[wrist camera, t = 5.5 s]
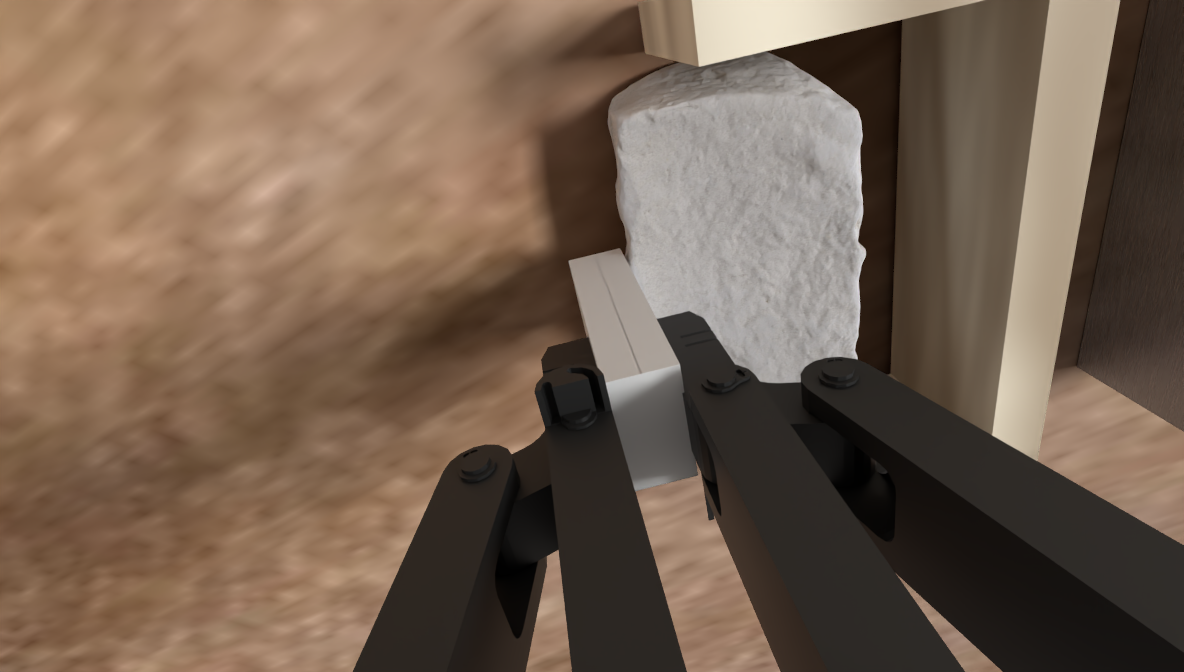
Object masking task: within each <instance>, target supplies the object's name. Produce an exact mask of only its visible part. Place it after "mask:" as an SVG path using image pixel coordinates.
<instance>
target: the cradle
mask: <svg viewBox="0 0 1184 672" xmlns="http://www.w3.org/2000/svg"><path fill="white" fill-rule="evenodd" d="M1119 5H1120V0H646V1H642V2H638V8H639V15H640V21H641V28H642V35H643V42H644V49H645V54H649V55H653V56H657V57H661V58H665V59H669V60H673V61H677V62H681V63H686V64H690V65H694V66H698V67H700V66H705V65H709V64H713V63H717V62H722V61H726V60H730V59H735V58H739V57H743V56H748V55H752V54H756V53H760V52H765V51H769V50H773V49H778V48H782V47H786V46H791V45H795V44H799V43H803V42H808V41H812V40H816V39H821V38H825V37H829V36H834V35H838V34H842V33H846V32H851V31H855V30H859V29H864V28H868V27H872V26H876V25H881V24H885V23H889V22H894V21H898V20H902V47H901V77H900V107H899V137H898V167H897V198H896V228H895V258H894V288H893V318H892V349H891V374H887V375H888V376H890V377H892V378H893V379H895V380H897V381H899V382H900V383H902V384H904V385H906V386H907V387H909V388H911V389H912V390H914V391H916V392H918V393H919V394H921V395H923V396H925V397H926V398H928V399H930V400H932V401H933V402H935V403H937V404H939V405H940V406H942V407H944V408H946V409H947V410H949V411H951V412H952V413H954V414H956V415H958V416H959V417H961V418H963V419H965V420H966V421H968V422H970V423H972V424H973V425H975V426H977V427H979V428H980V429H982V430H984V431H986V432H987V433H989V434H991V435H992V436H994V437H996V438H998V439H999V440H1001V441H1003V442H1005V443H1006V444H1008V445H1010V446H1012V447H1013V448H1015V449H1017V450H1019V451H1020V452H1022V453H1024V454H1026V455H1027V456H1029V457H1031V458H1032V459H1034V460H1036V461H1037V460H1038V455H1039V449H1040V444H1041V438H1042V432H1043V427H1044V421H1045V416H1046V410H1047V405H1048V399H1049V394H1050V388H1051V383H1052V377H1053V371H1054V366H1055V360H1056V355H1057V349H1058V344H1059V338H1060V333H1061V327H1062V321H1063V316H1064V310H1065V305H1066V299H1067V294H1068V288H1069V283H1070V277H1071V272H1072V266H1073V260H1074V255H1075V249H1076V244H1077V238H1078V233H1079V227H1080V222H1081V216H1082V210H1083V205H1084V199H1085V194H1086V188H1087V183H1088V177H1089V172H1090V166H1091V160H1092V155H1093V149H1094V144H1095V138H1096V133H1097V127H1098V122H1099V116H1100V111H1101V105H1102V99H1103V94H1104V88H1105V83H1106V77H1107V72H1108V66H1109V61H1110V55H1111V49H1112V44H1113V38H1114V33H1115V27H1116V22H1117V16H1118V11H1119Z"/></svg>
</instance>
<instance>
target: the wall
mask: <svg viewBox="0 0 1184 672" xmlns="http://www.w3.org/2000/svg"><path fill="white" fill-rule="evenodd" d="M1077 367H1078V368H1080V369H1081V370H1083V371H1084V372H1086V373H1088V374H1089V375H1091V376H1093V377H1094V378H1096V379H1098V380H1099V381H1101V382H1103V383H1104V384H1106V385H1108V386H1109V387H1111V388H1113V389H1114V390H1116V391H1118V392H1119V393H1121V394H1122V395H1124V396H1126V397H1127V398H1129V399H1131V400H1132V401H1134V402H1136V403H1137V404H1139V405H1141V406H1142V407H1144V408H1146V409H1147V410H1149V411H1151V412H1152V413H1154V414H1156V415H1157V416H1159V417H1160V418H1162V419H1164V420H1165V421H1167V422H1169V423H1170V424H1172V425H1174V426H1175V427H1177V428H1179V429H1180V430H1182V431H1184V0H1150V4H1149V9H1148V14H1147V19H1146V24H1145V29H1144V34H1143V39H1142V44H1141V49H1140V54H1139V59H1138V64H1137V69H1136V74H1135V79H1134V84H1133V89H1132V94H1131V99H1130V104H1129V109H1128V114H1127V119H1126V124H1125V129H1124V134H1123V139H1122V144H1121V149H1120V154H1119V159H1118V164H1117V169H1116V174H1115V179H1114V184H1113V189H1112V194H1111V199H1110V204H1109V209H1108V214H1107V219H1106V224H1105V229H1104V234H1103V239H1102V244H1101V249H1100V254H1099V259H1098V264H1097V269H1096V273H1095V278H1094V283H1093V288H1092V293H1091V298H1090V303H1089V308H1088V313H1087V318H1086V323H1085V328H1084V333H1083V338H1082V343H1081V348H1080V353H1079V358H1078V363H1077Z"/></svg>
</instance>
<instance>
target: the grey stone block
mask: <svg viewBox="0 0 1184 672" xmlns="http://www.w3.org/2000/svg"><path fill="white" fill-rule="evenodd" d="M608 115H609V116H608V127H609V131H610V135H611V138H612V142H613V146H614V151H615V157H616V162H617V174H618V175H617V176H618V177H617V181H616V185H615V188H616V202H617V208H618V211H619V214H620V218H621V220H622V222H623V224H624V227H625V236H626V239H627V246H626V253H625V256H624V257H625V259H626V261H627V263H628V265H629V266H630V268H631V270H632V272H633V274H634V276H635V278H636V280H637V282H638V284H639V286H640V288H641V290H642V292H643V294H644V296H645V297H646V299H647V301H648V303H649V305H650V307H651V309H652V311H653V313H654V315H655V317H656V319H659V318H663V317H667V316H671V315H675V314H679V313H683V312H687V311H690V312H693V313H695V314H697V315H699V316H701V317H703V318H704V319H705V321H706V322H707V324H708V325H709V326H710V328H711V331H713V332H714V334H715V335H716V337H717V339H718V340H719V341H720V343H721V344H722V346H723V347H724V349H725V350H726V352H727V353H728V355H729V356H730V358H731V359H732V361H733V362H734V364H735V365H739V366H742V367H745V368H748V369H749V370H750V371H751V372H753V373H754V374H755V375H756V377H757V378H758V379H759V381H761V382H767V383H793V382H801V377H800V374H801V372H802V371H803V369H804V368H805V367H806V366H807V365H809V364H810V363H812V362H814V361H817V360H820V359H824V358H829V357H846V358H853V359H858V357H857V354H856V352H855V348H856V342H857V339H858V336H859V335H858V328H859V322H860V295H859V293H860V292H859V276H860V272H861V266H862V263H863V261H864V259H865V257H866V250H865V248H864V247H863V246H862V245H861V244H860V243H858V237H859V229H860V226H861V222H862V217H863V198H862V191H861V185H862V175H861V164H860V146H861V143H862V137H863V134H862V124H861V119H860V116H859V112H858V110H857V109H856V108H854V107H853V106H852V105H851V104H850V103H849V102H847V101H846V100H845V99H843V98H842V97H840V96H839V95H838V94H837V93H835V92H834V91H833V90H831V89H830V88H829V87H828V86H826V85H825V84H823V83H822V82H820V81H819V80H817V79H815V78H814V77H813V76H811V75H810V74H808V73H806V72H804V71H803V70H801V69H799V68H798V67H796V66H795V65H794V64H792V63H791V62H789V61H787V60H785V59H782V58H779V57H777V56H775V55H773V54H771V53H768V52H760V53H756V54H752V55H748V56H743V57H739V58H735V59H730V60H726V61H722V62H717V63H713V64H709V65H705V66H700V67H698V66H694V65H690V64H686V63H681V62H679V63H676V64H673V65H671V66H667V67H665V68H662V69H660V70H658V71H655V72H654V73H651V74H649V75H647V76H646V77H644V78H642V79H641V80H639V81H637V82H636V83H634V84H631V85H630V86H629V87H627V89H625V90H623V91H622V92H620V93H618V94H617V95H616V96H615V97H614V98H613V99H612V101H611V104H610V107H609V110H608Z"/></svg>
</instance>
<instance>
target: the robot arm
mask: <svg viewBox="0 0 1184 672" xmlns="http://www.w3.org/2000/svg"><path fill="white" fill-rule="evenodd" d="M569 265H570V270H571V274H572V278H573V282H574V286H575V290H576V295H577V299H578V303H579V307H580V311H581V315H582V320H583V324H584V328H585V332H586V336H587V338H584V339H580V340H575V341H571V342H567V343H563V344H559V345H555V346H551V347H548V349H547V351H546V352H545V354H544V356H543V358H542V359H541V361H542V369H543V377H542V378H541V379H540V380H539V382H538V383H537V384H536V388H535V395H536V398H537V402H538V405H539V408H540V412H541V415H542V418H543V422H544V425H545V431H544V433H543V434H542V435H541V436H540V438H538V439H537V440H536V441H535V442H533V443H532V444H531V445H529V446H527V447H526V448H524V449H522V450H520V451H518V452H516V453H514V454H512V455H511V453H510V452H509V450H508V449H506V448H504V447H502V446H499V445H482V446H478V447H473V448H471V449H469V450H467V451H465V452H463V453H461V454H459V455H458V456H457V457H456V458H454V459H453V460H452V461H451V462H450V463H449V464H448V466H447V467H446V468H445V470H444V471H443V474H442V476H441V478H440V480H439V482H438V485H437V487H436V489H435V491H434V493H433V496H432V498H431V500H430V502H429V504H428V507H427V509H426V511H425V513H424V515H423V518H422V520H421V522H420V524H419V527H418V529H417V531H416V533H415V535H414V538H413V540H412V542H411V544H410V546H409V549H408V551H407V553H406V555H405V557H404V560H403V562H402V564H401V566H400V568H399V571H398V573H397V575H396V577H395V580H394V582H393V584H392V586H391V588H390V591H389V593H388V595H387V597H386V599H385V602H384V604H383V606H382V608H381V610H380V613H379V615H378V617H377V619H376V621H375V624H374V626H373V628H372V630H371V633H370V635H369V637H368V639H367V641H366V644H365V646H364V648H363V650H362V652H361V655H360V657H359V659H358V661H357V663H356V666H355V668H354V670H353V672H525V671H526V666H527V661H528V656H529V651H530V647H531V642H532V637H533V632H534V627H535V622H536V617H537V612H538V607H539V602H540V597H541V593H542V588H543V583H544V578H545V573H546V568H547V556H548V555H550V554H551V553H553V552H555V551H557V550H559V557H560V566H561V575H562V584H563V593H564V602H565V612H566V621H567V630H568V639H569V648H570V657H571V666H572V672H687V671H686V667H685V664H684V660H683V657H682V653H681V650H680V646H679V643H678V639H677V636H676V632H675V629H674V625H673V622H672V618H671V615H670V611H669V608H668V604H667V601H666V597H665V594H664V590H663V587H662V583H661V580H660V576H659V573H658V569H657V566H656V563H655V559H654V556H653V552H652V549H651V545H650V542H649V538H648V535H647V531H646V528H645V524H644V521H643V517H642V514H641V510H640V507H639V503H638V500H637V496H636V493H635V491H638V490H642V489H646V488H650V487H654V486H658V485H662V484H666V483H670V482H674V481H677V480H681V479H685V478H689V477H693V476H697V475H698V473H697V467H696V461H697V464H698V466H699V468H700V470H701V473H702V480H703V486H704V492H705V499H706V505H707V511H708V518H709V520H713V519H714V516H715V518H716V521H717V523H718V525H719V528H720V530H721V532H722V535H723V537H724V539H725V542H726V544H727V547H728V549H729V551H730V554H731V556H732V558H733V561H734V563H735V565H736V568H737V570H738V572H739V575H740V577H741V579H742V582H743V584H744V587H745V589H746V591H747V594H748V596H749V598H750V601H751V603H752V605H753V608H754V610H755V612H756V615H757V617H758V619H759V622H760V624H761V627H762V629H763V631H764V634H765V636H766V638H767V641H768V643H769V645H770V648H771V650H772V652H773V655H774V657H775V659H776V662H777V664H778V667H779V669H780V671H781V672H965V671H964V670H963V668H962V667H961V665H960V664H959V663H958V661H957V660H956V658H955V657H954V655H953V654H952V653H951V651H950V650H949V648H948V647H947V646H946V644H945V643H944V641H943V640H942V638H941V637H940V636H939V634H938V633H937V631H936V630H935V629H934V627H933V626H932V624H931V623H930V621H929V620H928V619H927V617H926V616H925V614H924V613H923V612H922V610H921V609H920V607H919V606H918V605H917V603H916V602H915V600H914V599H913V597H912V596H911V595H910V593H909V592H908V590H907V589H906V588H905V586H904V585H903V583H902V582H901V580H900V579H899V578H898V576H899V577H901V578H902V579H903V580H904V581H905V582H906V583H907V584H908V585H909V586H910V587H911V588H912V589H914V590H915V591H916V592H917V593H918V594H919V595H920V596H921V597H922V598H923V599H924V600H926V601H927V602H928V603H929V604H930V605H931V606H932V607H933V608H934V609H935V610H936V611H938V612H939V613H940V614H941V615H942V616H943V617H944V618H945V619H946V620H947V621H948V622H949V623H951V624H952V625H953V626H954V627H955V628H956V629H957V630H958V631H959V632H960V633H961V634H963V635H964V636H965V637H966V638H967V639H968V640H969V641H970V642H971V643H972V644H973V645H975V646H976V647H977V648H978V649H979V650H980V651H981V652H982V653H983V654H984V655H985V656H986V657H988V658H989V659H990V660H991V661H992V662H993V663H994V664H995V665H996V666H997V667H998V668H1000V669H1001V670H1002V671H1003V672H1184V545H1182V544H1180V543H1179V542H1177V541H1175V540H1173V539H1172V538H1170V537H1168V536H1166V535H1165V534H1163V533H1161V532H1159V531H1158V530H1156V529H1154V528H1152V527H1151V526H1149V525H1147V524H1146V523H1144V522H1142V521H1140V520H1139V519H1137V518H1135V517H1133V516H1132V515H1130V514H1128V513H1126V512H1125V511H1123V510H1121V509H1119V508H1118V507H1116V506H1114V505H1112V504H1111V503H1109V502H1107V501H1106V500H1104V499H1102V498H1100V497H1099V496H1097V495H1095V494H1093V493H1092V492H1090V491H1088V490H1086V489H1085V488H1083V487H1081V486H1079V485H1078V484H1076V483H1074V482H1072V481H1071V480H1069V479H1067V478H1066V477H1064V476H1062V475H1060V474H1059V473H1057V472H1055V471H1053V470H1052V469H1050V468H1048V467H1046V466H1045V465H1043V464H1041V463H1039V462H1038V461H1036V460H1034V459H1032V458H1031V457H1029V456H1027V455H1026V454H1024V453H1022V452H1020V451H1019V450H1017V449H1015V448H1013V447H1012V446H1010V445H1008V444H1006V443H1005V442H1003V441H1001V440H999V439H998V438H996V437H994V436H992V435H991V434H989V433H987V432H986V431H984V430H982V429H980V428H979V427H977V426H975V425H973V424H972V423H970V422H968V421H966V420H965V419H963V418H961V417H959V416H958V415H956V414H954V413H952V412H951V411H949V410H947V409H946V408H944V407H942V406H940V405H939V404H937V403H935V402H933V401H932V400H930V399H928V398H926V397H925V396H923V395H921V394H919V393H918V392H916V391H914V390H912V389H911V388H909V387H907V386H906V385H904V384H902V383H900V382H899V381H897V380H895V379H893V378H892V377H890V376H888V375H886V374H885V373H883V372H881V371H879V370H878V369H876V368H874V367H872V366H871V365H869V364H867V363H865V362H862V361H860V360H857V359H853V358H846V357H829V358H824V359H820V360H817V361H814V362H812V363H810V364H809V365H807V366H806V367H805V368H804V369H803V371H802V372H801V374H800V377H801V382H793V383H767V382H761V381H759V379H758V378H757V377H756V375H755V374H754V373H753V372H751V371H750V370H749V369H748V368H745V367H742V366H739V365H735V364H734V362H733V361H732V359H731V358H730V356H729V355H728V353H727V352H726V350H725V349H724V347H723V346H722V344H721V343H720V341H719V340H718V339H717V337H716V335H715V334H714V332H713V331H711V328H710V326H709V325H708V324H707V322H706V321H705V319H704V318H703V317H701V316H699V315H697V314H695V313H693V312H690V311H687V312H683V313H679V314H675V315H671V316H667V317H663V318H659V319H656V317H655V315H654V313H653V311H652V309H651V307H650V305H649V303H648V301H647V299H646V297H645V296H644V294H643V292H642V290H641V288H640V286H639V284H638V282H637V280H636V278H635V276H634V274H633V272H632V270H631V268H630V266H629V265H628V263H627V261H626V259H625V257H624V255H623V253H622V251H621V249H620V248H618V249H614V250H610V251H606V252H602V253H598V254H594V255H590V256H586V257H581V258H577V259H573V260H569ZM695 459H696V460H695ZM896 574H897V575H898V576H897V575H896Z"/></svg>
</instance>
